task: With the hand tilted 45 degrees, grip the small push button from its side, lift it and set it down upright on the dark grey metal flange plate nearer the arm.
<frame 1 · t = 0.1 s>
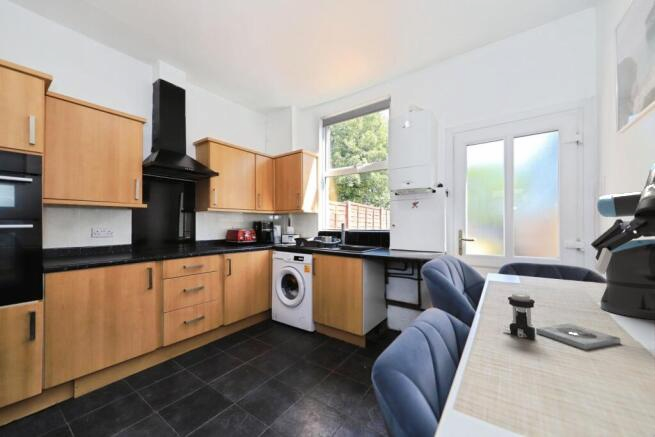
hand: (636, 275, 61), 15 cm above the table, tool tilted 35°, fingers open, 13 cm apart
flange plate: (576, 337, 62), on the table
push button: (519, 336, 63), on the table
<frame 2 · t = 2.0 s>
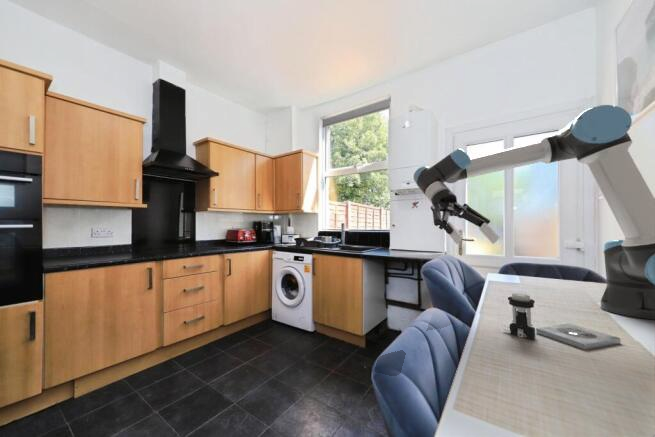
hand: (478, 240, 75), 23 cm above the table, tool tilted 45°, fingers open, 13 cm apart
nothing on the table moved.
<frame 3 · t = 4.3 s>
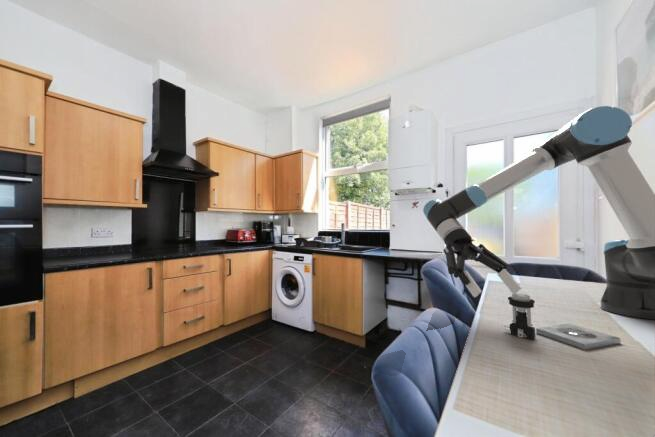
hand: (498, 292, 67), 10 cm above the table, tool tilted 45°, fingers open, 13 cm apart
nothing on the table moved.
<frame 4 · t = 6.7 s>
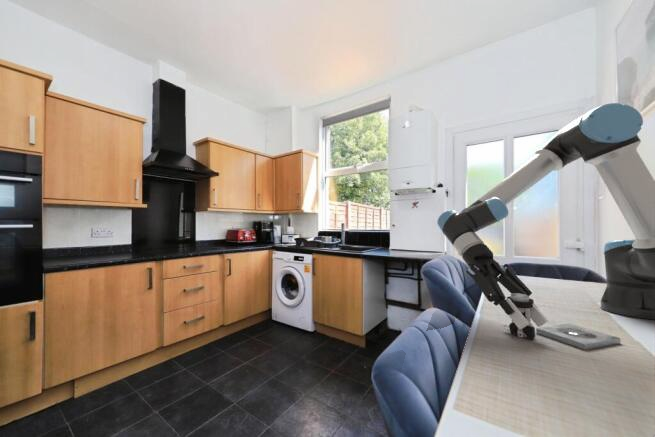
hand: (533, 325, 60), 4 cm above the table, tool tilted 45°, fingers closed on push button, 5 cm apart
push button: (519, 335, 63), on the table, touching gripper
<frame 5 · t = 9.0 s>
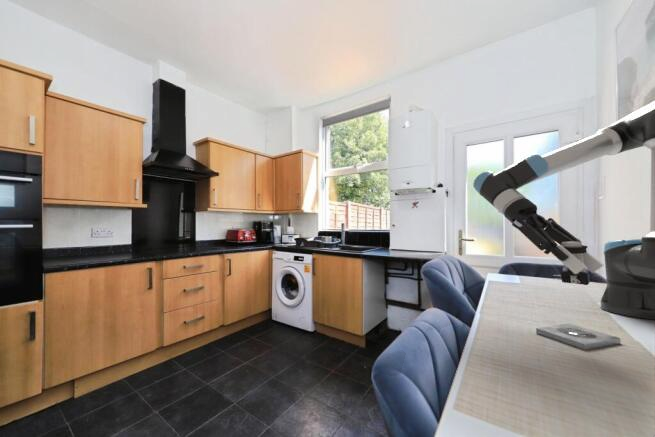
hand: (589, 269, 59), 17 cm above the table, tool tilted 45°, fingers closed on push button, 5 cm apart
push button: (571, 283, 63), point 13 cm above the table, touching gripper
when the fingers open (6 cm above the table, at t = 11.4 s): push button drops 1 cm, resting on flange plate.
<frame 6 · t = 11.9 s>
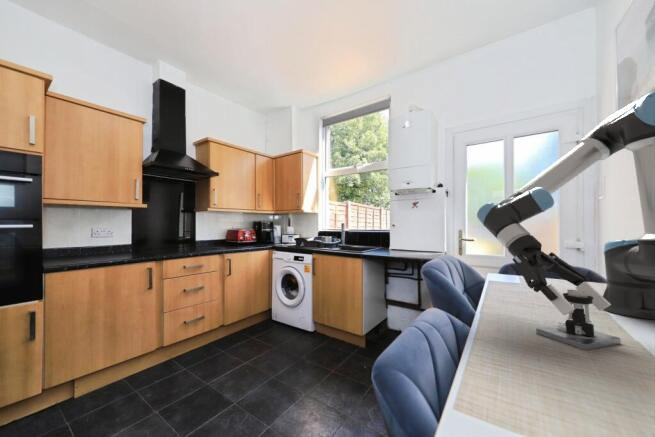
hand: (588, 310, 60), 7 cm above the table, tool tilted 45°, fingers open, 12 cm apart
push button: (576, 333, 62), point 1 cm above the table, touching flange plate
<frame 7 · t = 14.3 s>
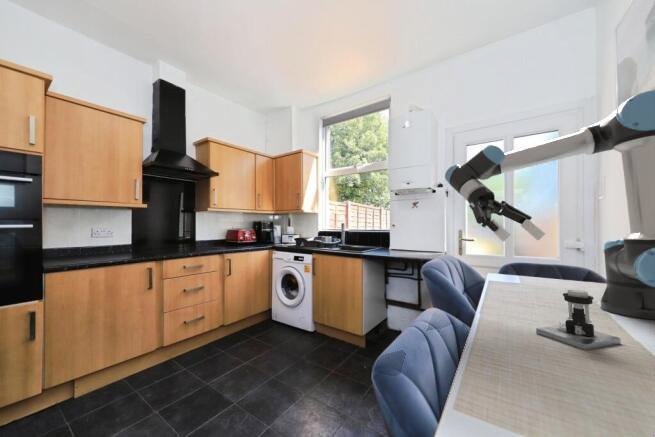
hand: (524, 237, 73), 24 cm above the table, tool tilted 45°, fingers open, 13 cm apart
nothing on the table moved.
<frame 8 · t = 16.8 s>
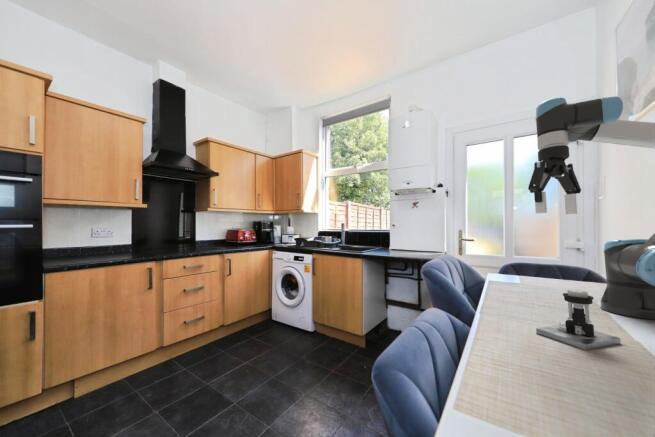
hand: (556, 213, 81), 32 cm above the table, tool pointing down, fingers open, 13 cm apart
nothing on the table moved.
at the end: push button inside the target area on the flange plate (0.3 cm from its centre), point 1.0 cm above the flange plate's base; push button tilted 0°; the gripper is holding nothing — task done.
